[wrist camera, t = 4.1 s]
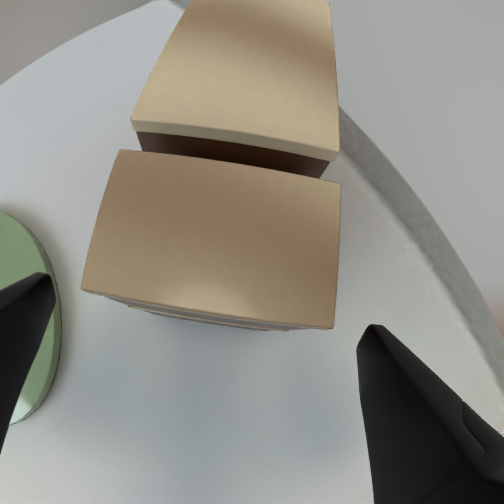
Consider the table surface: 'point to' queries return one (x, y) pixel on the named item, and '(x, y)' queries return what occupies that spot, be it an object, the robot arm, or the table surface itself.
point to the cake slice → (217, 242)
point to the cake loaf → (246, 87)
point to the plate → (44, 366)
